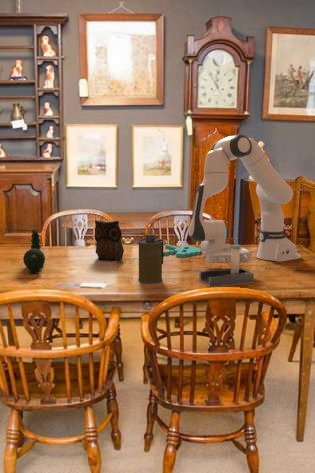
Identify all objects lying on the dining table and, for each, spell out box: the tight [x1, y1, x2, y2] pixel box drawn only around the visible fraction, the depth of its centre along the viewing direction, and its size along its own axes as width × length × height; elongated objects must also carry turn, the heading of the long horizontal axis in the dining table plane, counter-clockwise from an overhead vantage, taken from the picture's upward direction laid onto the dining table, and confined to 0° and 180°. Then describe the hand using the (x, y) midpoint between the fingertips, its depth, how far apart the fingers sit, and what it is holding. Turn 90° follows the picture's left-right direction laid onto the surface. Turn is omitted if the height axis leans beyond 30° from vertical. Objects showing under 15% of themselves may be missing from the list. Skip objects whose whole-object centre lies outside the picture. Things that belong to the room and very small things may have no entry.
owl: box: [94, 219, 125, 263], centre depth 251 cm, size 13×13×20 cm
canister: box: [137, 233, 164, 284], centre depth 217 cm, size 11×10×20 cm
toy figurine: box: [22, 228, 46, 275], centre depth 233 cm, size 9×19×25 cm
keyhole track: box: [198, 266, 255, 288], centre depth 217 cm, size 20×12×4 cm, turn 109°
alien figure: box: [163, 243, 202, 258], centre depth 268 cm, size 20×2×20 cm
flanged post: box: [230, 244, 241, 274], centre depth 217 cm, size 6×6×15 cm
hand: (236, 260), depth 216 cm, fingers open, 8 cm apart
